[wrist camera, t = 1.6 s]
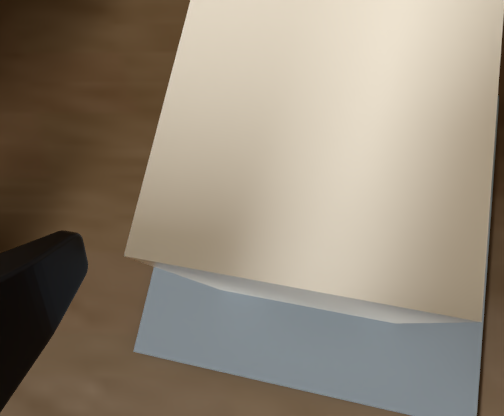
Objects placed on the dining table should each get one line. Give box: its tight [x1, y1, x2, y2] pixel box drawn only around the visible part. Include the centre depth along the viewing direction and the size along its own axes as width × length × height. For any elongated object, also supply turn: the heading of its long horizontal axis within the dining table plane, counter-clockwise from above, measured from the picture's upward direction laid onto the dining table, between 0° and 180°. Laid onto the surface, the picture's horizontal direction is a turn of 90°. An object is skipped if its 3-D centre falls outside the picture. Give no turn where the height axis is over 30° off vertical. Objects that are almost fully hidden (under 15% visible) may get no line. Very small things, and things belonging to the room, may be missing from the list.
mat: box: [133, 96, 499, 416], centre depth 20 cm, size 14×14×1 cm
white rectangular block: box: [124, 0, 504, 324], centre depth 15 cm, size 7×7×10 cm
